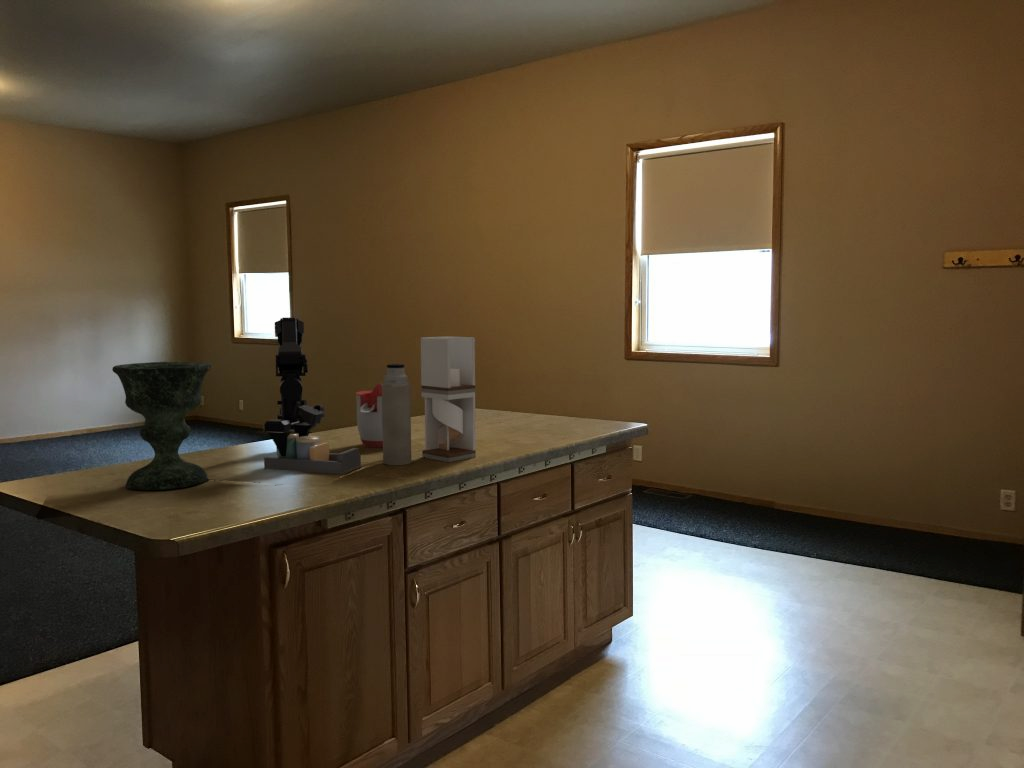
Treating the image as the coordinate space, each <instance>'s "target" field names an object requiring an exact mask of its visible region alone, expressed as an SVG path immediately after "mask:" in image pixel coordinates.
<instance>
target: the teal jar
mask: <svg viewBox="0 0 1024 768" xmlns="http://www.w3.org/2000/svg"><path fill="white" fill-rule="evenodd" d="M297 437H299V433H295V432H291V433H290V435H289V436H288V437H287V450H286V456H285V457H284V456H281V454H280V452H279V450H278V449H277V447H276V446H275V447H276V448H275V449H276V458H290V459H297V457H296V438H297Z"/></svg>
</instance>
